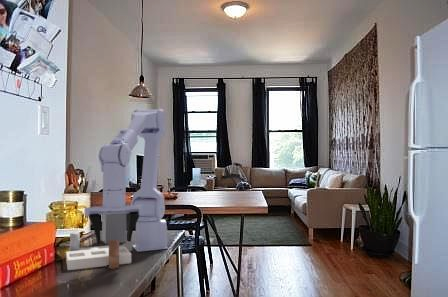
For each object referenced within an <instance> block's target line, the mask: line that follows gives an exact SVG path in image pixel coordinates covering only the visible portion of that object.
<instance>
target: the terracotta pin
mask: <svg viewBox="0 0 448 297" xmlns="http://www.w3.org/2000/svg"><path fill="white" fill-rule="evenodd" d="M108 245H109V266H108V269H109V268H110V269H109V270H116V268H117V269H119V268H120V264H119V247H120V243H119V240H109V244H108Z"/></svg>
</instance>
